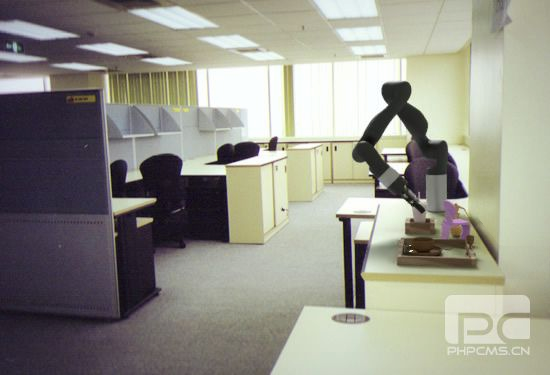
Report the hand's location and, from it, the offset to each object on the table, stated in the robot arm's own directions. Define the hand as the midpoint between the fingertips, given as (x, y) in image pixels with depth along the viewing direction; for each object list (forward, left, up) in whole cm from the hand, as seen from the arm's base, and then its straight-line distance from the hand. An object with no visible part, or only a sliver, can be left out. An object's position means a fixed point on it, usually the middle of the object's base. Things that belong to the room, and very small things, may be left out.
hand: (423, 210), depth 195 cm
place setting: (+36, +3, -8) cm, 37 cm away
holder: (0, -2, -8) cm, 8 cm away
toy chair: (+17, +10, -8) cm, 22 cm away
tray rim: (+36, +3, -8) cm, 37 cm away
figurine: (+7, +11, -8) cm, 16 cm away
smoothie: (0, -2, -7) cm, 7 cm away
